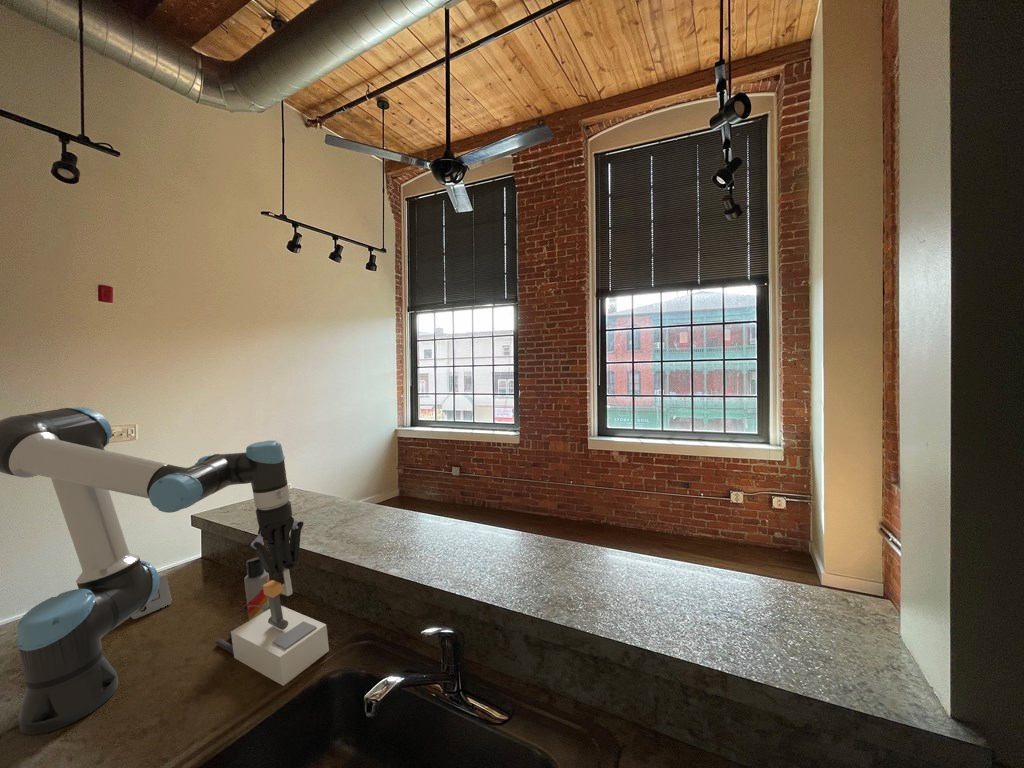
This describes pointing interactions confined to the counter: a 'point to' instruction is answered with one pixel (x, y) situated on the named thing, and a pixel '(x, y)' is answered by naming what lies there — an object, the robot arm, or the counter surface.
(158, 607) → the electrical switch
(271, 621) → the lever
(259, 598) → the lotion bottle
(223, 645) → the parallel rod pair
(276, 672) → the block
